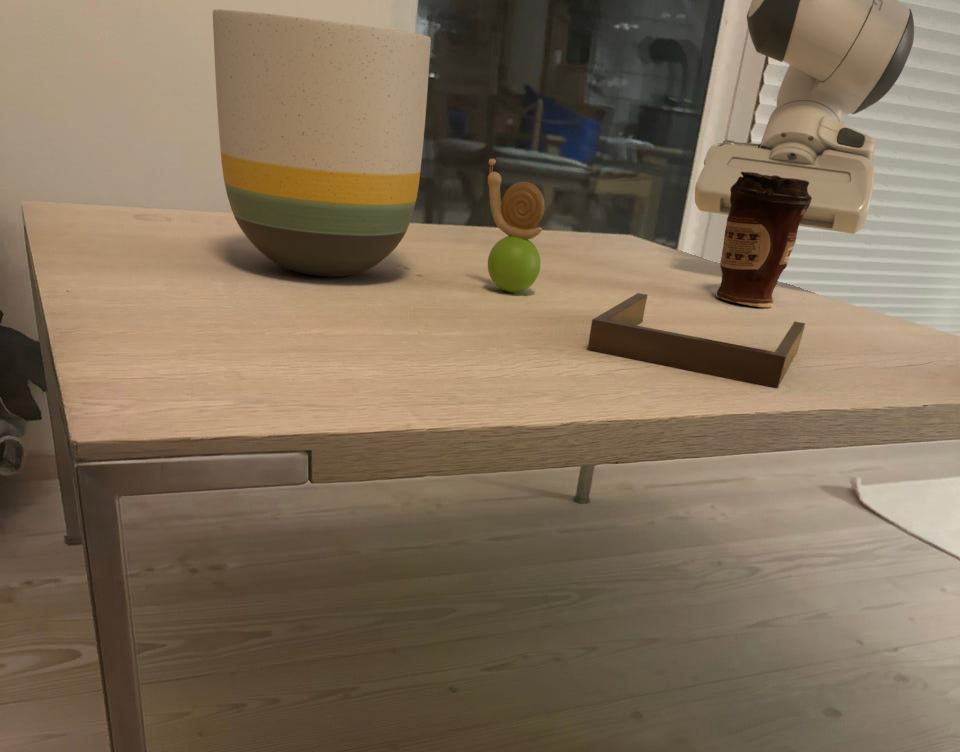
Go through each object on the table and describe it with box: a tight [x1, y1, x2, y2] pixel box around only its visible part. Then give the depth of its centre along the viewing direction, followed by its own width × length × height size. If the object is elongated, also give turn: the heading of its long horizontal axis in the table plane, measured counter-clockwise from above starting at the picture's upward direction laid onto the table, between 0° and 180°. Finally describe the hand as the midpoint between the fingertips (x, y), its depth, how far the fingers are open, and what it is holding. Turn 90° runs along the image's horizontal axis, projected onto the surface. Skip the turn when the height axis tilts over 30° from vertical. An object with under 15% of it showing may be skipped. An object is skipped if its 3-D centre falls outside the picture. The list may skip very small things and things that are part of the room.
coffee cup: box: [716, 172, 812, 308], centre depth 101 cm, size 9×8×13 cm
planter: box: [212, 8, 432, 278], centre depth 89 cm, size 20×20×21 cm
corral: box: [587, 292, 806, 389], centre depth 81 cm, size 16×16×2 cm
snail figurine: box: [487, 158, 546, 293], centre depth 93 cm, size 5×6×12 cm
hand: (764, 245), depth 108 cm, fingers closed
